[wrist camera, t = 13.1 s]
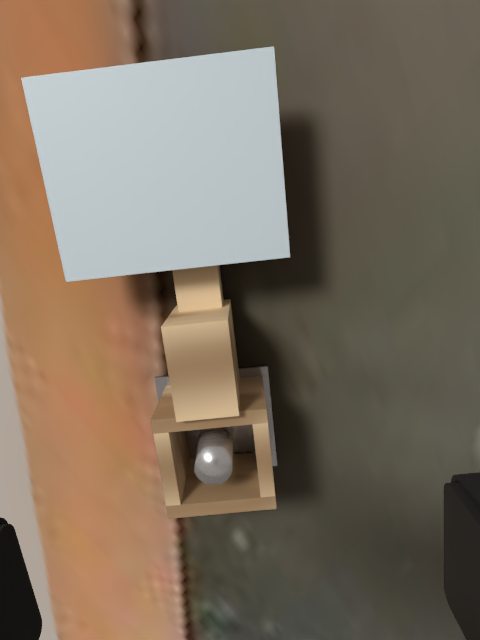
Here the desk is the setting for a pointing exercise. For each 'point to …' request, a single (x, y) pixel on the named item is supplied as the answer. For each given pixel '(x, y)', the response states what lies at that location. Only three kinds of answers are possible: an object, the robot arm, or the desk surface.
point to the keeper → (162, 163)
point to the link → (208, 403)
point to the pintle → (224, 436)
